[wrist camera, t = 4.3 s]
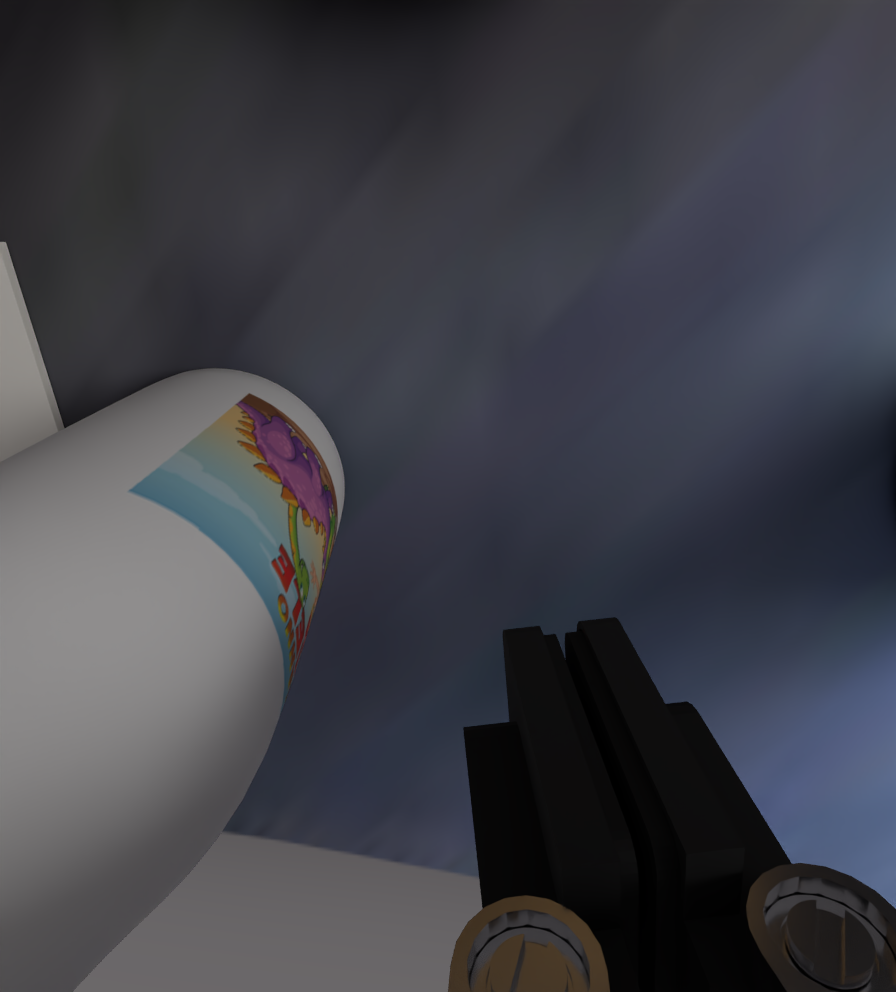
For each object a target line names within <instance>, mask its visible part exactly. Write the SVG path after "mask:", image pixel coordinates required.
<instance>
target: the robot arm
mask: <svg viewBox="0 0 896 992" xmlns="http://www.w3.org/2000/svg"><path fill="white" fill-rule="evenodd" d="M503 646H504V658H505V671H506V683H507V696H508V708H509V721H510V722H505V723H497V724H488V725H479V726H470V727H463V729H464V739H465V748H466V758H467V767H468V776H469V786H470V795H471V804H472V814H473V823H474V832H475V842H476V851H477V861H478V870H479V879H480V889H481V897H482V907H483V909H482V910H481V911H480V912H479V913H478V914H477V915H476V916H474V917H473V918H472V919H471V920H470V921H469V922H468V923H467V925H466V926H465V928H464V930H463V931H462V933H461V935H460V936H459V938H458V940H457V941H456V945H455V949H454V954H453V957H452V961H451V966H450V977H449V989H448V992H896V909H895V908H894V907H893V906H892V905H891V904H890V903H888V902H887V901H886V900H885V899H884V898H883V897H882V896H881V895H880V894H878V893H877V892H876V891H875V890H873V889H871V888H870V887H868V886H866V885H865V884H863V883H862V882H860V881H858V880H857V879H855V878H853V877H852V876H849V875H847V874H844V873H841V872H839V871H836V870H833V869H831V868H828V867H825V866H818V865H811V864H805V863H796V864H792V863H791V862H790V860H789V858H788V857H787V855H786V854H785V852H784V850H783V849H782V847H781V845H780V844H779V842H778V841H777V839H776V837H775V836H774V834H773V833H772V831H771V829H770V828H769V826H768V824H767V823H766V821H765V820H764V818H763V816H762V815H761V813H760V811H759V810H758V808H757V807H756V805H755V803H754V802H753V800H752V798H751V797H750V795H749V794H748V792H747V790H746V789H745V787H744V786H743V784H742V782H741V781H740V779H739V777H738V776H737V774H736V773H735V771H734V769H733V768H732V766H731V764H730V763H729V761H728V760H727V758H726V756H725V755H724V753H723V752H722V750H721V748H720V747H719V745H718V743H717V742H716V740H715V739H714V737H713V735H712V734H711V732H710V730H709V729H708V727H707V726H706V724H705V722H704V721H703V719H702V718H701V716H700V714H699V713H698V711H697V710H696V709H695V707H694V706H693V705H692V704H690V703H689V702H679V703H670V704H665V703H664V701H663V699H662V697H661V695H660V694H659V692H658V690H657V688H656V686H655V685H654V683H653V681H652V679H651V677H650V676H649V674H648V672H647V670H646V668H645V667H644V665H643V663H642V661H641V660H640V658H639V656H638V654H637V652H636V651H635V649H634V647H633V645H632V643H631V642H630V640H629V638H628V636H627V634H626V633H625V631H624V629H623V627H622V625H621V624H620V622H619V620H618V619H617V618H615V617H614V618H605V619H596V620H587V621H579V622H578V624H577V632H569V633H566V634H565V655H566V660H565V658H564V655H563V652H562V650H561V647H560V644H559V641H558V639H557V636H556V635H555V634H552V635H543V633H542V630H541V628H540V626H534V627H525V628H516V629H508V630H503Z"/></svg>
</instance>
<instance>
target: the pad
mask: <svg viewBox="0 0 896 992" xmlns="http://www.w3.org/2000/svg"><path fill="white" fill-rule="evenodd" d="M62 429H64V425H63V422H62V419H61V416H60V412H59V409H58V406H57V403H56V400H55V397H54V393H53V390H52V387H51V384H50V381H49V378H48V374H47V371H46V368H45V365H44V362H43V359H42V355H41V352H40V349H39V346H38V343H37V340H36V336H35V333H34V330H33V327H32V324H31V321H30V318H29V314H28V311H27V308H26V305H25V302H24V299H23V295H22V292H21V289H20V286H19V283H18V280H17V276H16V273H15V270H14V267H13V264H12V261H11V257H10V254H9V251H8V248H7V245H6V242H0V462H2V461H3V460H5V459H7V458H9V457H11V456H13V455H15V454H17V453H19V452H21V451H22V450H24V449H26V448H28V447H30V446H32V445H34V444H36V443H38V442H39V441H41V440H43V439H45V438H47V437H49V436H51V435H53V434H55V433H57V432H58V431H60V430H62Z"/></svg>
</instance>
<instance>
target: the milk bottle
mask: <svg viewBox="0 0 896 992" xmlns="http://www.w3.org/2000/svg"><path fill="white" fill-rule="evenodd" d="M344 497H345V483H344V473H343V468H342V463H341V460H340V457H339V453H338V451H337V448H336V446H335V444H334V442H333V440H332V438H331V436H330V434H329V432H328V431H327V429H326V428H325V426H324V425H323V423H322V422H321V421H320V419H319V418H318V417H317V416H316V414H315V413H314V412H313V411H312V410H311V409H310V408H309V407H308V406H307V405H306V404H305V403H304V402H302V401H301V400H300V399H299V398H298V397H296V396H295V395H294V394H292V393H291V392H289V391H288V390H286V389H285V388H283V387H281V386H280V385H278V384H276V383H274V382H272V381H270V380H267V379H265V378H263V377H260V376H257V375H254V374H251V373H247V372H243V371H238V370H232V369H220V368H209V369H198V370H191V371H187V372H183V373H179V374H177V375H174V376H171V377H168V378H166V379H163V380H161V381H158V382H156V383H154V384H152V385H150V386H148V387H146V388H144V389H142V390H140V391H138V392H136V393H134V394H132V395H130V396H128V397H126V398H124V399H122V400H119V401H117V402H116V403H114V404H112V405H110V406H108V407H106V408H104V409H102V410H100V411H98V412H96V413H94V414H92V415H90V416H88V417H86V418H84V419H82V420H80V421H78V422H76V423H74V424H72V425H70V426H68V427H66V428H64V429H62V430H60V431H58V432H57V433H55V434H53V435H51V436H49V437H47V438H45V439H43V440H41V441H39V442H38V443H36V444H34V445H32V446H30V447H28V448H26V449H24V450H22V451H21V452H19V453H17V454H15V455H13V456H11V457H9V458H7V459H5V460H3V461H2V462H0V992H73V991H74V989H75V988H76V987H77V986H78V985H79V984H80V983H81V982H82V981H83V980H84V979H85V978H86V977H87V976H88V974H89V973H90V972H91V971H92V970H93V969H94V968H95V967H96V966H97V965H98V964H99V963H100V962H101V961H102V959H103V958H104V957H105V956H106V955H107V954H108V953H109V952H111V951H112V949H114V947H116V946H117V945H118V943H120V942H121V941H122V940H123V939H124V938H125V937H126V936H127V935H128V934H129V933H130V932H131V931H132V930H133V929H134V928H135V927H136V926H137V925H138V924H139V923H140V922H141V921H142V920H143V919H144V918H145V917H147V916H148V915H149V913H151V912H152V911H153V910H154V909H155V908H156V907H157V906H158V905H159V904H160V903H161V902H162V901H163V900H164V899H165V898H166V897H167V896H168V895H169V894H170V893H171V892H172V891H173V890H174V889H175V888H176V887H177V886H178V885H179V883H180V882H181V881H182V880H183V879H184V878H185V877H186V876H187V875H188V874H189V873H190V871H191V870H192V869H193V868H194V867H195V866H196V864H197V863H198V862H199V861H200V859H201V858H202V857H203V856H204V854H205V853H206V852H207V851H208V849H209V848H210V847H211V846H212V844H213V843H214V842H215V841H216V839H217V838H218V837H219V835H220V834H221V832H222V831H223V829H224V828H225V826H226V825H227V823H228V821H229V820H230V818H231V817H232V815H233V814H234V812H235V811H236V809H237V808H238V806H239V804H240V803H241V801H242V800H243V798H244V796H245V794H246V792H247V790H248V788H249V786H250V784H251V782H252V780H253V778H254V776H255V774H256V772H257V770H258V768H259V766H260V764H261V762H262V760H263V758H264V756H265V754H266V752H267V750H268V747H269V744H270V742H271V739H272V736H273V733H274V731H275V728H276V725H277V722H278V720H279V717H280V714H281V712H282V709H283V706H284V703H285V701H286V698H287V695H288V692H289V690H290V687H291V684H292V681H293V678H294V675H295V672H296V668H297V665H298V662H299V659H300V656H301V652H302V649H303V646H304V643H305V639H306V636H307V633H308V630H309V627H310V623H311V620H312V617H313V614H314V610H315V607H316V604H317V600H318V597H319V594H320V590H321V587H322V583H323V580H324V577H325V573H326V570H327V566H328V563H329V560H330V556H331V553H332V549H333V546H334V542H335V539H336V535H337V532H338V528H339V524H340V520H341V515H342V510H343V505H344Z"/></svg>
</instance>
